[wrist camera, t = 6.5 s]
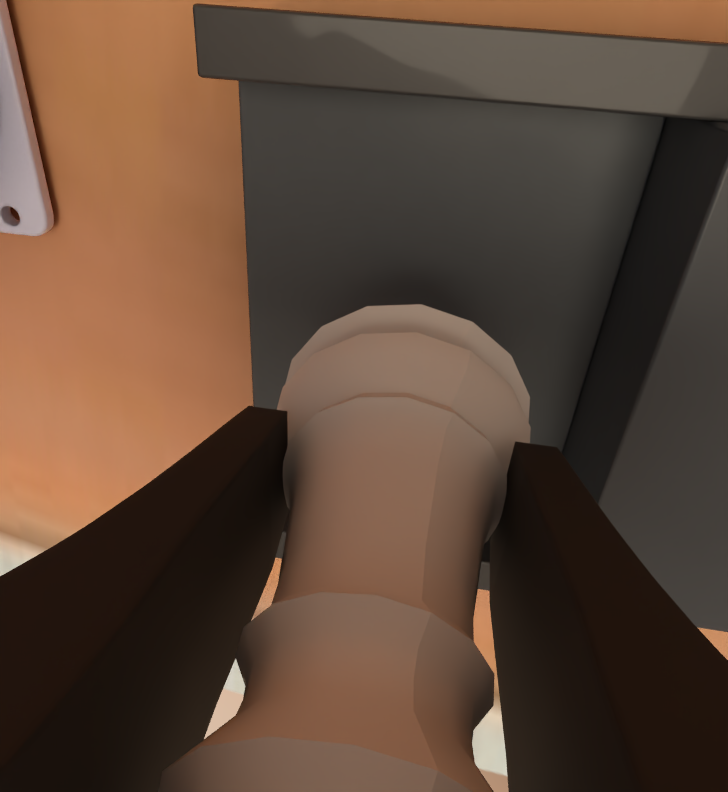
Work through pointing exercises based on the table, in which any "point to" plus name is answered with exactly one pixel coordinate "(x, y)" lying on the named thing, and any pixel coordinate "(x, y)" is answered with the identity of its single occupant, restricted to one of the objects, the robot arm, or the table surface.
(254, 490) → the robot arm
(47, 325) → the table surface
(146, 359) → the table surface
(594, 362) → the dark grey stepped block
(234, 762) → the rook chess piece
